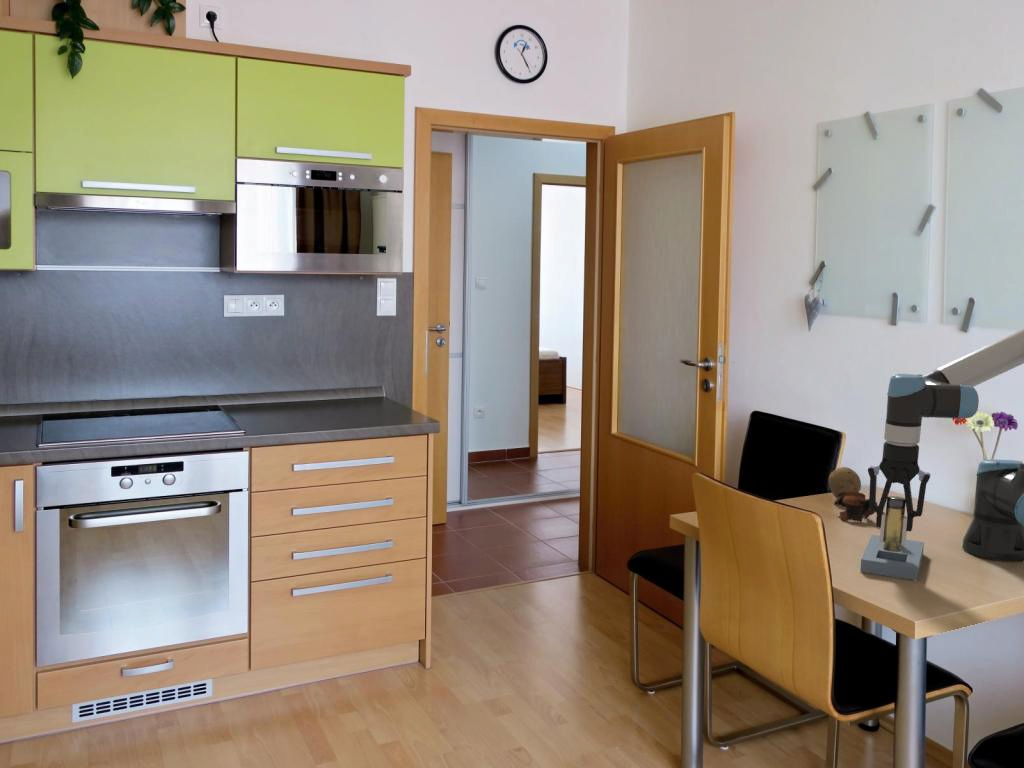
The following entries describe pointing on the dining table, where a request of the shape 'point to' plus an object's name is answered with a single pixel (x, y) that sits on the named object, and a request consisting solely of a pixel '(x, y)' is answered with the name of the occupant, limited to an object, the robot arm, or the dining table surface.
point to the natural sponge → (844, 481)
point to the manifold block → (892, 559)
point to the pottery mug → (854, 506)
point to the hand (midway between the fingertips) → (892, 542)
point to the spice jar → (894, 523)
